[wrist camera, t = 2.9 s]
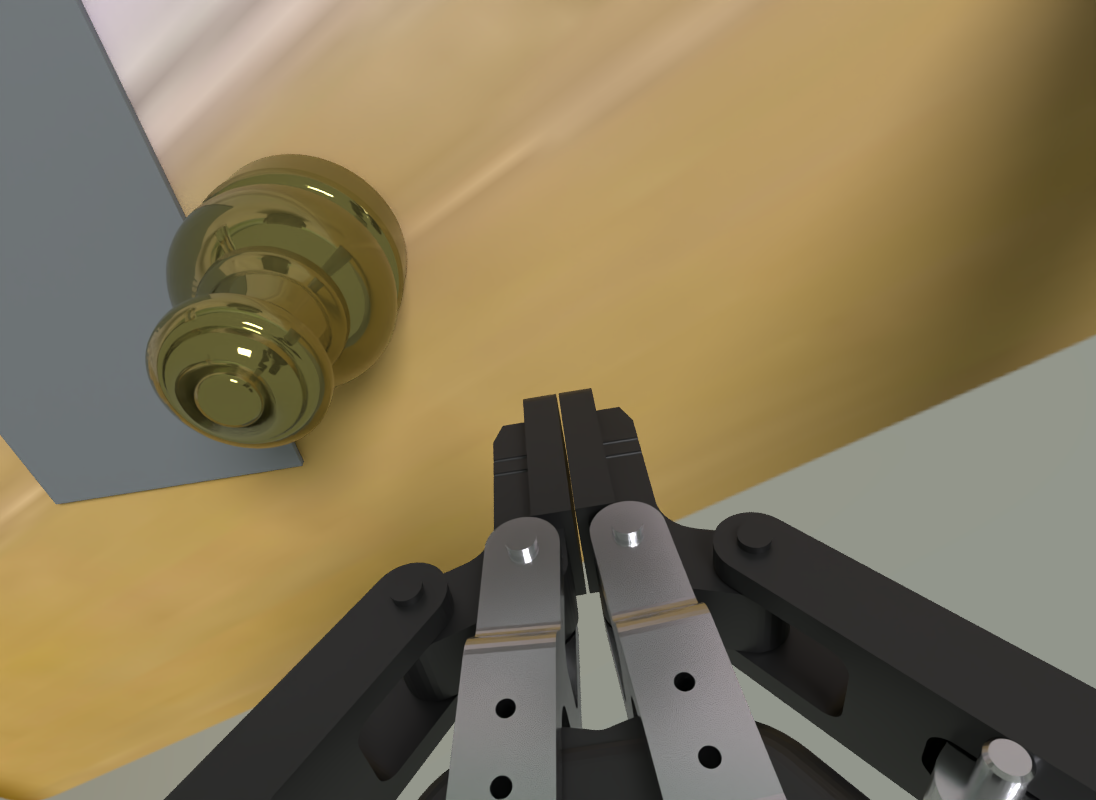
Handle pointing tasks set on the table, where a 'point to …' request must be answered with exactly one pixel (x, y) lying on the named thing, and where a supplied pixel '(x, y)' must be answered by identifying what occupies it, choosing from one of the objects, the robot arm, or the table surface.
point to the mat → (87, 273)
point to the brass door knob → (275, 300)
